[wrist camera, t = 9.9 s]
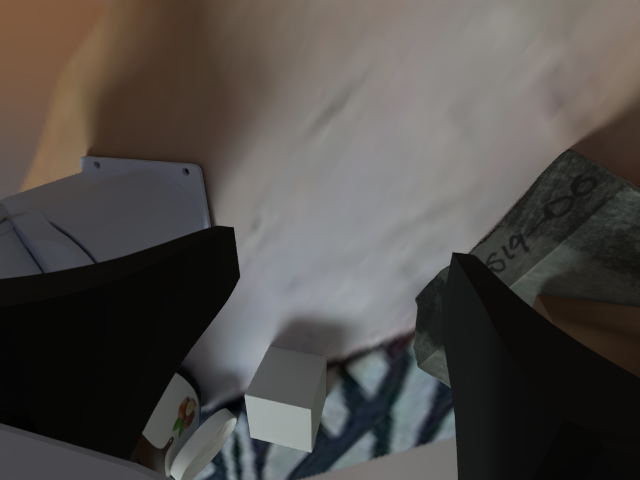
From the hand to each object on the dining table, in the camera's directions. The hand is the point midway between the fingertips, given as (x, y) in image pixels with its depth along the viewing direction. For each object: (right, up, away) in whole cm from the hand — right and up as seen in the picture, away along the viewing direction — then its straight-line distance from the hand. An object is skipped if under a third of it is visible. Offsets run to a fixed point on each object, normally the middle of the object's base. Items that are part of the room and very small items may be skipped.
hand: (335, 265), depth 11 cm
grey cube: (-2, -11, +19) cm, 21 cm away
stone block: (+12, -1, +10) cm, 16 cm away
